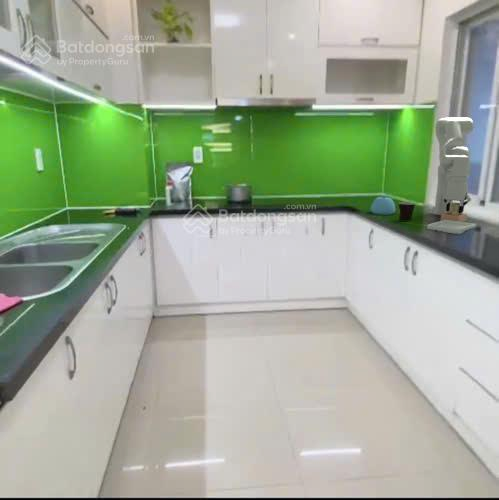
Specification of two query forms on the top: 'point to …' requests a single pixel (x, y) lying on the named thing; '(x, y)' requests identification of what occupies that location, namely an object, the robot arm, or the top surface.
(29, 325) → the top surface
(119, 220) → the top surface
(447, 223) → the tray
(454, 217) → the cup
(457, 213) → the beige vase
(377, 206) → the sugar bowl
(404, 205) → the coffee mug
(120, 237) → the top surface
